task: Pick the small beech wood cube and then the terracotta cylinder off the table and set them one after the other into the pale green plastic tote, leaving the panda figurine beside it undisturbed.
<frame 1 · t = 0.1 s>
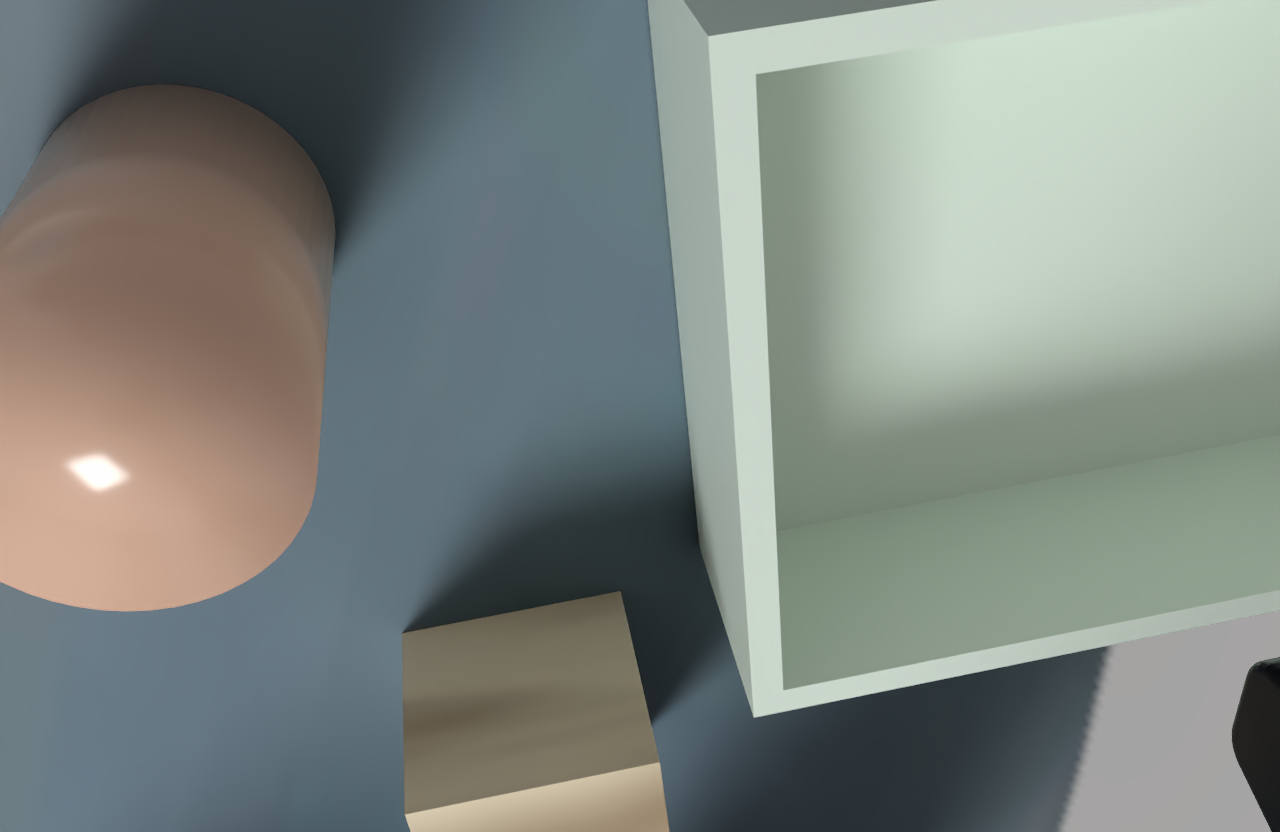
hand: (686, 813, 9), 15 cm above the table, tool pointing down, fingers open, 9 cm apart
cylinder: (186, 225, 21), on the table
cube: (528, 684, 29), on the table
tote: (1146, 211, 24), on the table
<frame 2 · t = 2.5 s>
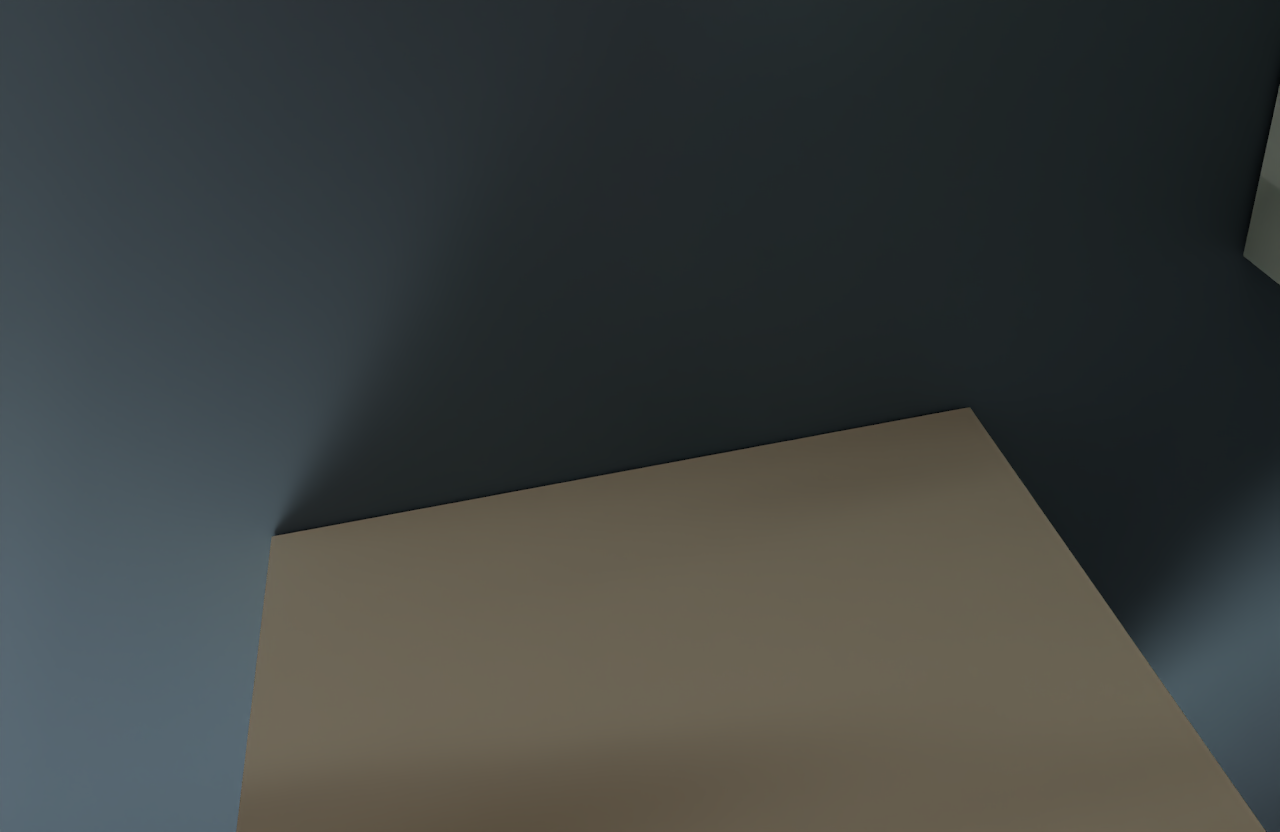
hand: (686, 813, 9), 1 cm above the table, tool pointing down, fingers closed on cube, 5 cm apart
cube: (660, 707, 10), on the table, touching gripper
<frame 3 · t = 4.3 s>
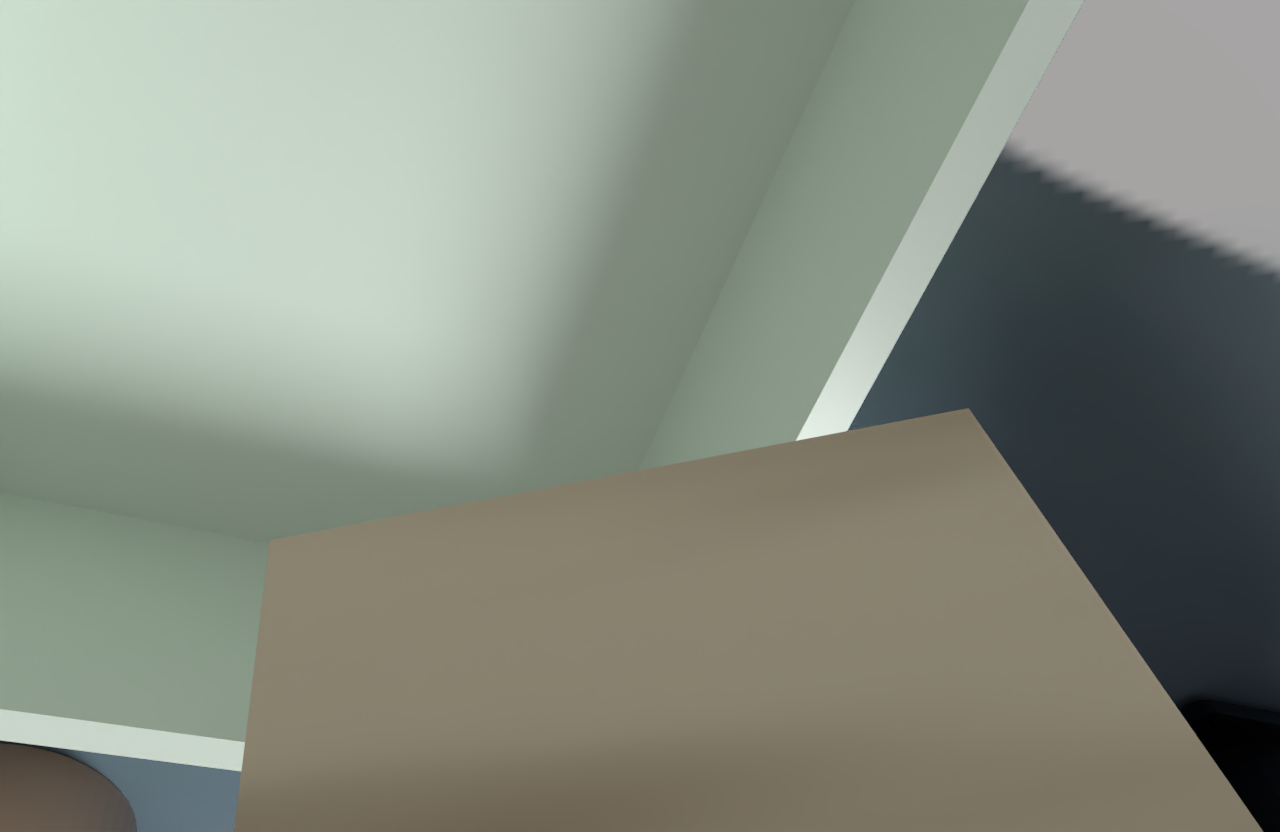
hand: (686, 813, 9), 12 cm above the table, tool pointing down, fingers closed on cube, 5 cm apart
cylinder: (4, 829, 24), on the table
cube: (660, 710, 10), point 11 cm above the table, touching gripper
tote: (387, 20, 17), on the table
when the fingers open (4 cm above the table, at t = 6.5 s): cube drops 2 cm, resting on tote.
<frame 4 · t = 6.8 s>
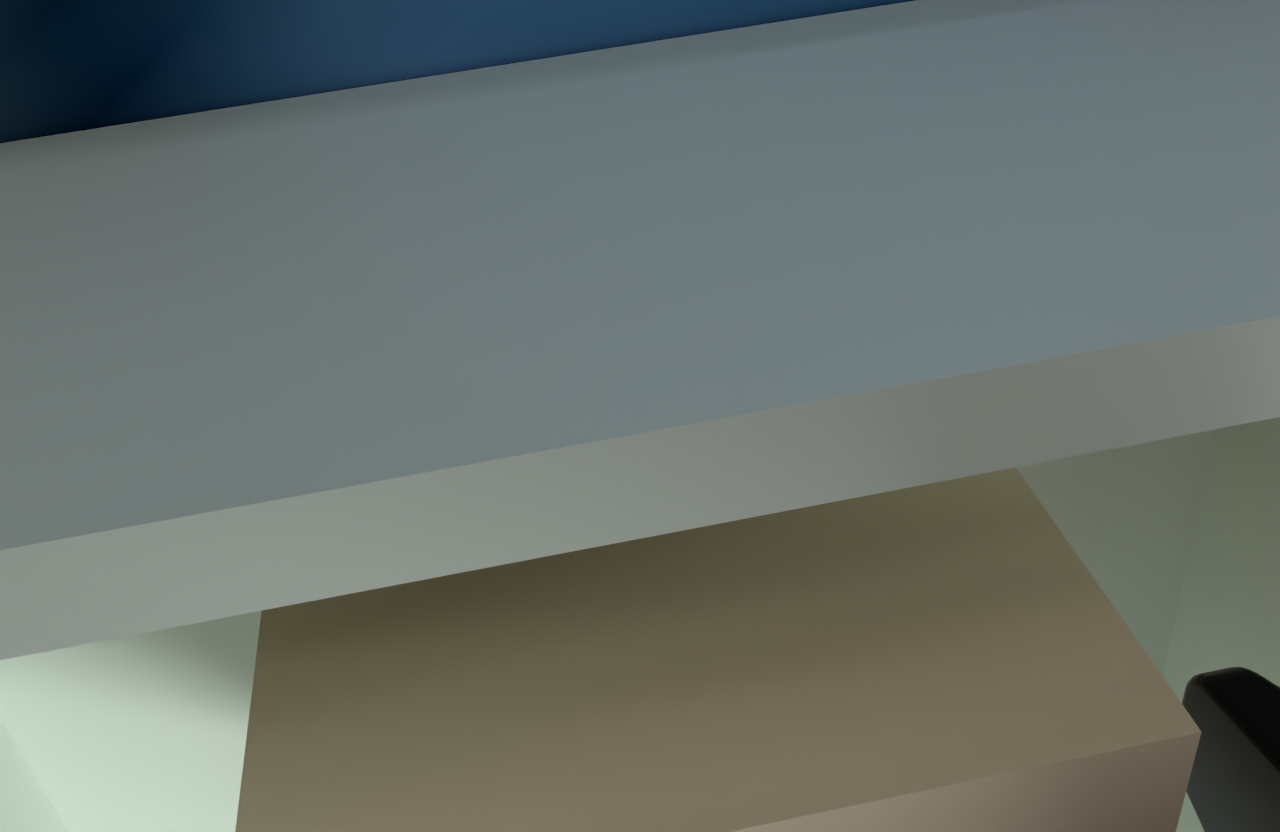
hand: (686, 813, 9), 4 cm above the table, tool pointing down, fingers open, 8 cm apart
cube: (623, 550, 12), point 1 cm above the table, touching tote
tote: (656, 821, 15), on the table
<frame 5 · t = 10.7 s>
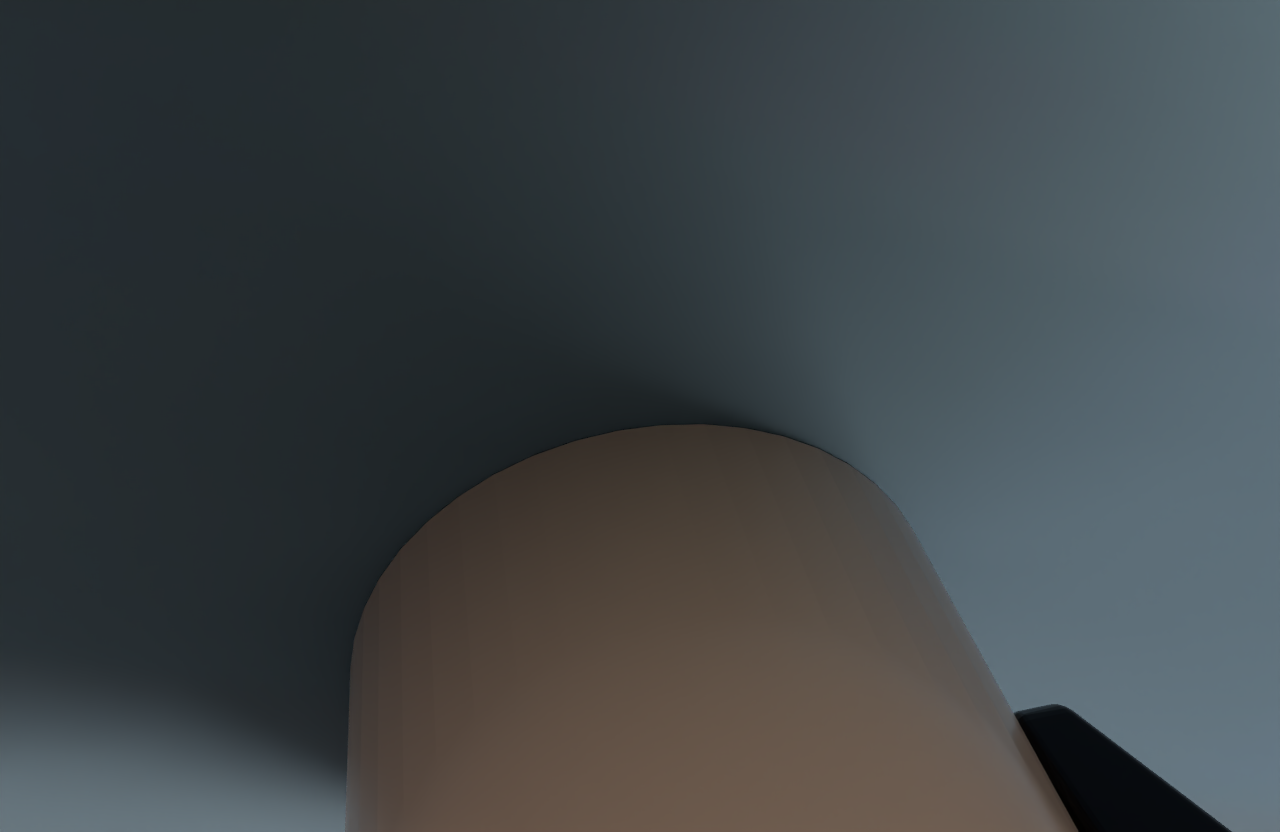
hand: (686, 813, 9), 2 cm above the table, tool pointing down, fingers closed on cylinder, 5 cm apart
cylinder: (650, 664, 10), on the table, touching gripper
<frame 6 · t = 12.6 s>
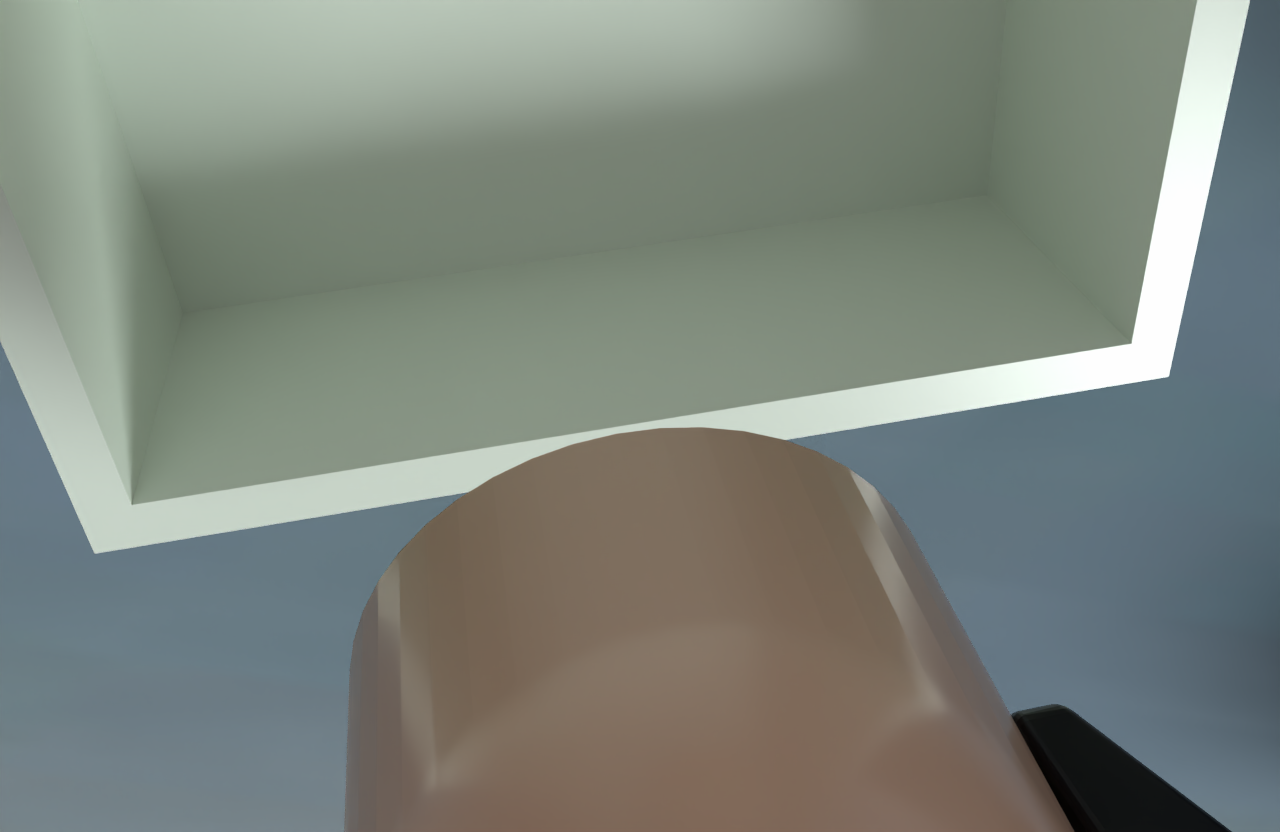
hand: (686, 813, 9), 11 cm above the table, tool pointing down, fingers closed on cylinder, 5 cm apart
cylinder: (648, 666, 10), point 9 cm above the table, touching gripper
when the fingers open (4 cm above the table, at t = 14.6 s): cylinder drops 2 cm, resting on tote.
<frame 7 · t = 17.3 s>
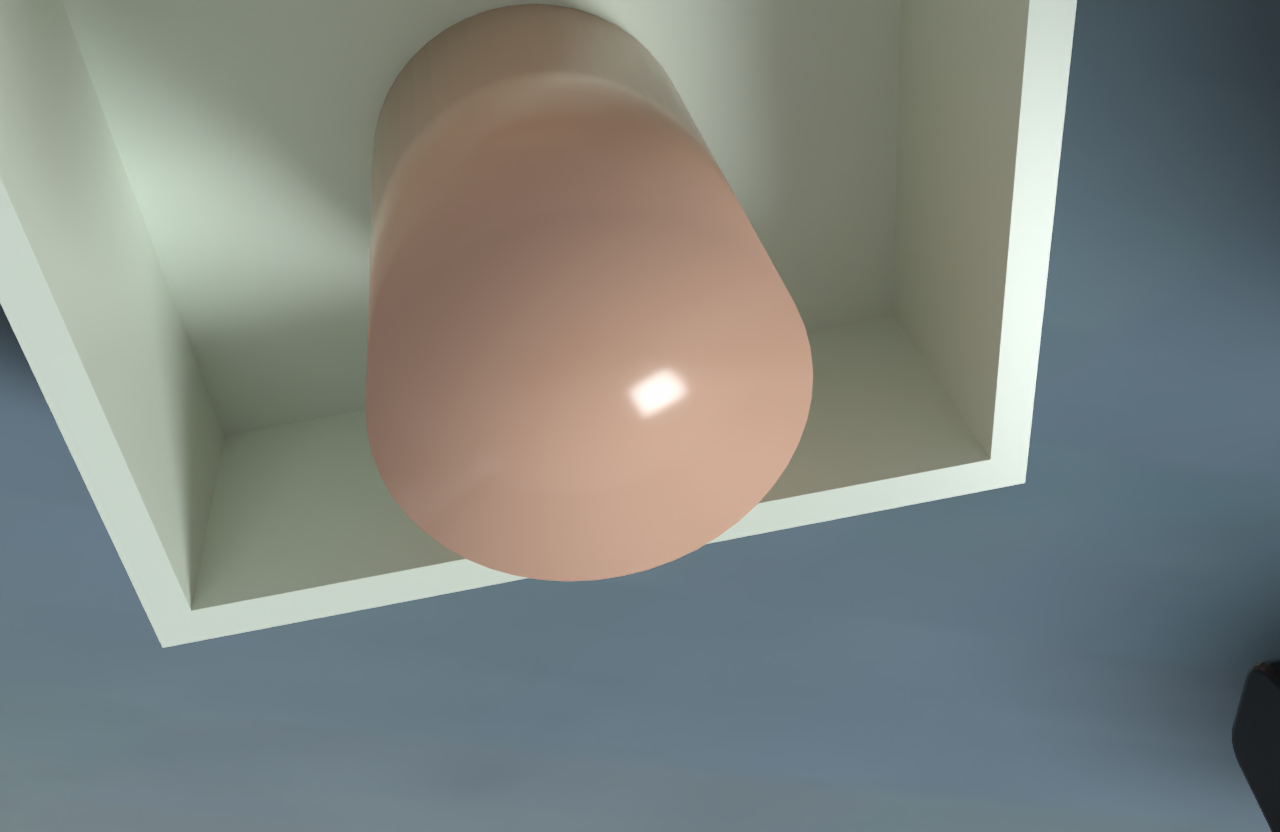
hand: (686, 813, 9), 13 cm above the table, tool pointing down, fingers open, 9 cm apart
cylinder: (534, 164, 19), point 1 cm above the table, touching tote
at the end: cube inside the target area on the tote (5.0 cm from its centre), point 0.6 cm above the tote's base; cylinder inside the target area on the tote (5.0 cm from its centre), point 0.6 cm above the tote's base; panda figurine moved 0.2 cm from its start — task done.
